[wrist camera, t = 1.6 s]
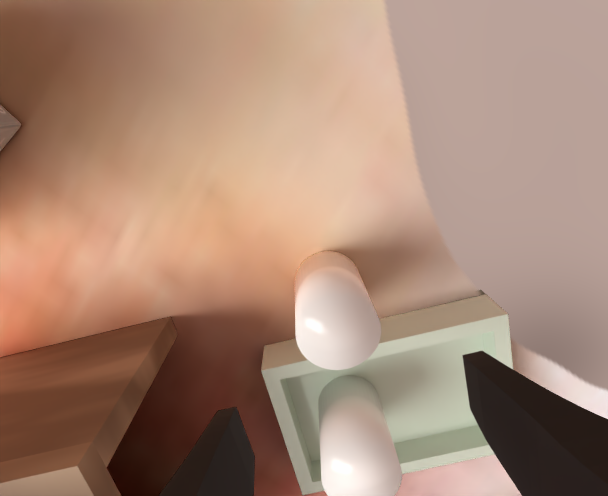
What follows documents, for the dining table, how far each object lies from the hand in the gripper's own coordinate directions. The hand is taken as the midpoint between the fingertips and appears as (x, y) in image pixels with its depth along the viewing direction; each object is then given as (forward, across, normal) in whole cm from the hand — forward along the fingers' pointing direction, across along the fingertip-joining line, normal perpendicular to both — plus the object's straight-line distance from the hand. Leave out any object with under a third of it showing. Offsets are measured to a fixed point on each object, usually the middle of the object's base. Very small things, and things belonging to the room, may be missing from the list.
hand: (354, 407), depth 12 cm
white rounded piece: (+10, 0, 0) cm, 10 cm away
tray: (+11, -2, +8) cm, 13 cm away
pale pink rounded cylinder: (+9, 0, +7) cm, 12 cm away
